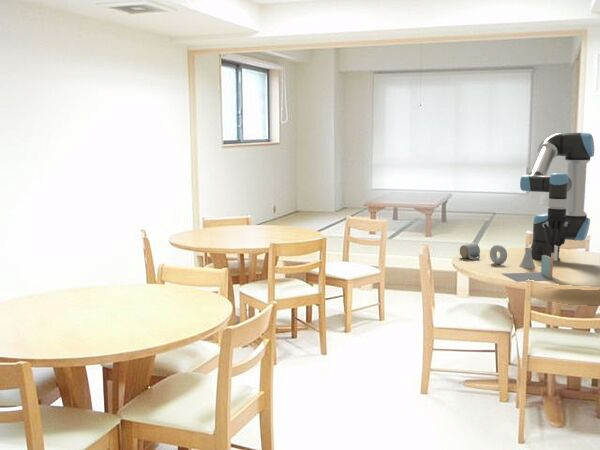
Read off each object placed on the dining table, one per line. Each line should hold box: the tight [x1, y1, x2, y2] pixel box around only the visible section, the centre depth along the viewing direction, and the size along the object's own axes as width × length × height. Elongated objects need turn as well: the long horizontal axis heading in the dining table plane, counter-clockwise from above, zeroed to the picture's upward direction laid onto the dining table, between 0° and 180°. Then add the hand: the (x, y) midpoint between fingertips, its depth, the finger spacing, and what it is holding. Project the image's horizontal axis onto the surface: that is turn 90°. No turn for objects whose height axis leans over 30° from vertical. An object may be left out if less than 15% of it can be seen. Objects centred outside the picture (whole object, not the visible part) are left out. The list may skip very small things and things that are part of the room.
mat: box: [501, 271, 559, 283], centre depth 289 cm, size 20×16×1 cm
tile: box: [540, 255, 554, 278], centre depth 290 cm, size 2×7×9 cm, turn 8°
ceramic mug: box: [459, 242, 481, 261], centre depth 334 cm, size 11×8×8 cm
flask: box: [518, 247, 536, 269], centre depth 310 cm, size 7×7×10 cm
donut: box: [489, 244, 508, 265], centre depth 319 cm, size 10×3×10 cm, turn 32°
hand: (554, 259), depth 290 cm, fingers closed
